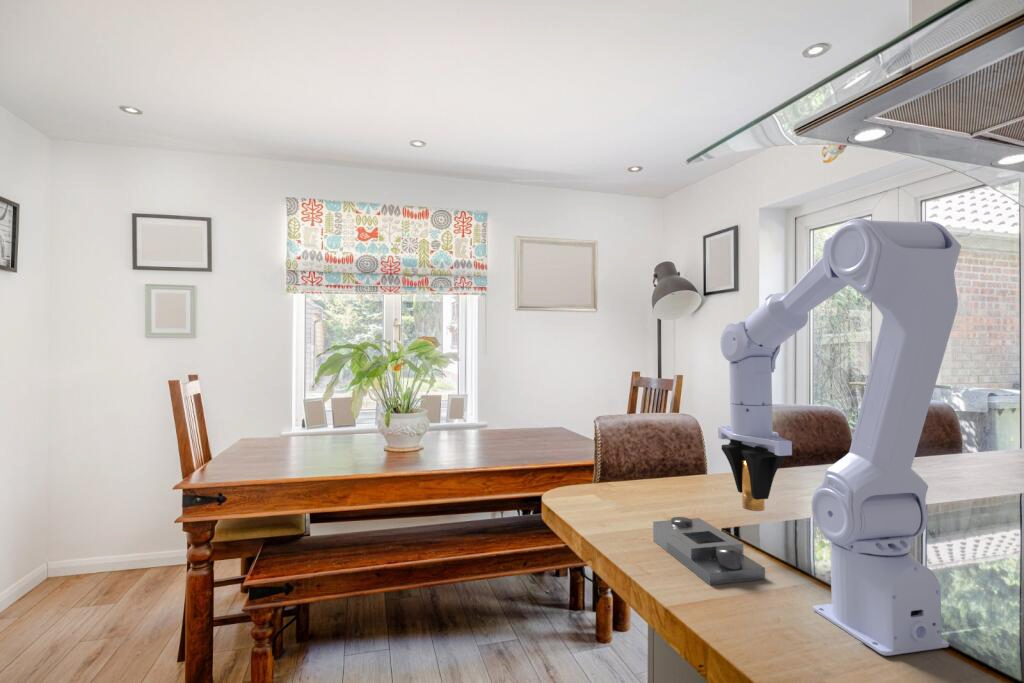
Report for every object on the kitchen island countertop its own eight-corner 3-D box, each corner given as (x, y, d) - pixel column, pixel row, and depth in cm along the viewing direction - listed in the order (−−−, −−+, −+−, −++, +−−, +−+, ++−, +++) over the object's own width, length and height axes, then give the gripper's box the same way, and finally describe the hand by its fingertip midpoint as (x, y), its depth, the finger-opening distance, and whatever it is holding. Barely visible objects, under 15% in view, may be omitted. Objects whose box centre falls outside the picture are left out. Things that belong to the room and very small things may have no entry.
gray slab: (765, 579, 68) (764, 552, 68) (709, 585, 66) (709, 557, 66) (699, 536, 83) (698, 514, 84) (653, 540, 82) (652, 518, 82)
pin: (769, 510, 75) (768, 462, 75) (750, 511, 75) (749, 463, 75) (756, 504, 78) (755, 458, 78) (738, 505, 78) (737, 459, 78)
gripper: (810, 408, 70) (813, 507, 70) (744, 398, 85) (746, 481, 84) (764, 409, 69) (766, 511, 69) (705, 399, 83) (707, 483, 83)
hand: (752, 495), depth 76 cm, fingers closed on pin, 3 cm apart
